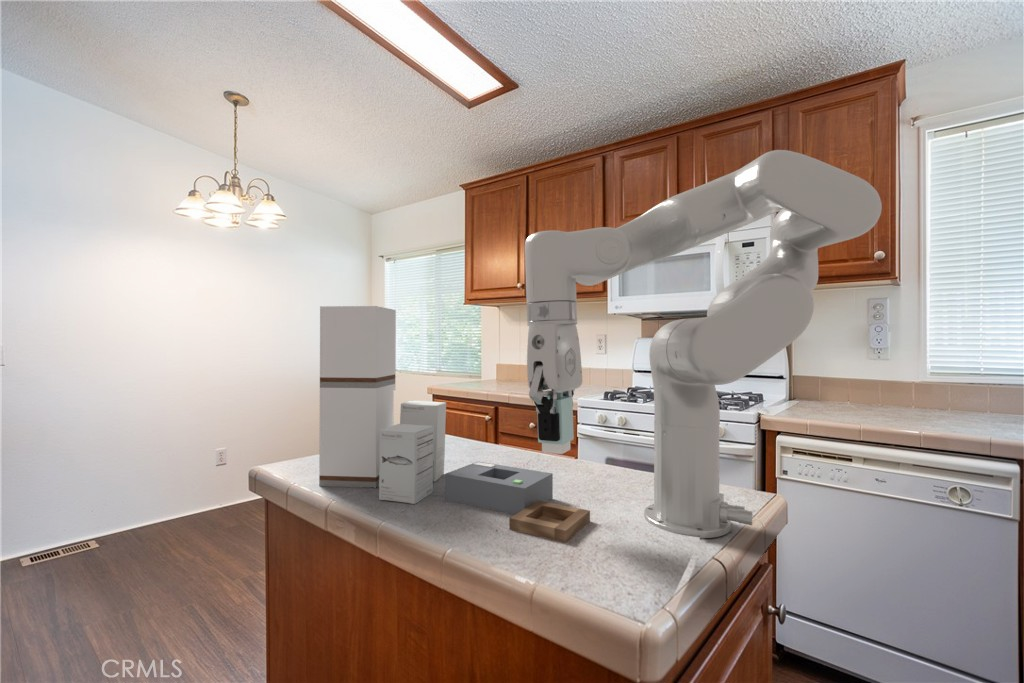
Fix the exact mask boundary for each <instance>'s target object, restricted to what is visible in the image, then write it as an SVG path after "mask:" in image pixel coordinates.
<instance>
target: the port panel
mask: <svg viewBox="0 0 1024 683" xmlns="http://www.w3.org/2000/svg"><path fill="white" fill-rule="evenodd" d="M553 474H554V473H551V472H546V471H539V470H532V469H528V468H521V467H514V466H509V465H502V464H496V463H495V464H494V463H490V462H483V461H476V462H473V463H470V464H468V465H465V466H462V467H459V468H457V469H454V470H451V471H449V472H446V473H444V503H447V502H448V501H450V502H456V503H461V504H465V505H470V506H475V507H477V508H478V507H479V508H483V509H488V510H493V511H496V512H501V513H506V514H511V515H513V516H514V515H515V514H517V513H518V512H520V511H522V510H523V509H525V508H527V507H528V506H530V505H531V504H533V503H535V502H536V501H543V502H548V503H549V502H550V501H551V500H553V499H554V498H553V491H554V490H553V486H554V485H553V484H554V483H553V479H554V478H553Z"/></svg>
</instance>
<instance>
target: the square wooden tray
mask: <svg viewBox="0 0 1024 683" xmlns="http://www.w3.org/2000/svg"><path fill="white" fill-rule="evenodd" d="M590 522H591V510H589V509H583V508H579V507H578V508H577V507H572V506H567V505H563V504H558V503H554V502H549V501H548V502H543V501H536V502H535V503H533V504H531V505H530V506H528V507H527V508H525V509H523V510H522V511H520V512H518V513H517V514H515V515H514V514H513V515H512V516H510V517H509V523H508V524H509V526H508V527H509V530H511V531H515V532H519V533H524V534H528V535H532V536H535V537H536V536H537V537H540V538H544V539H549V540H552V541H553V540H554V541H557V542H561V543H565V544H566V543H567V542H569V541H570V540H571V539H572V538H573V537H574V536H575V535H576V534H578V533H579V532H580V531H581V530H582V529H583V528H585V526H587V525H588V524H589V523H590Z"/></svg>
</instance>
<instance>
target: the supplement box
mask: <svg viewBox="0 0 1024 683" xmlns="http://www.w3.org/2000/svg"><path fill="white" fill-rule="evenodd" d="M433 436H434V426H425V425H411V424H400V423H397V424H393V426H390V427H387V428H384V429H381V430H380V467H379V486H378V488H379V489H378V490H379V491H378V500H379V501H388V502H389V501H390V502H391V501H392V502H398V503H406V504H411V505H416V504H418V503H419V502H420V501H422V500H423V499H425V498H426V497H428V496H430V494H433V490H434V488H433V484H434V482H433Z"/></svg>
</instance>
